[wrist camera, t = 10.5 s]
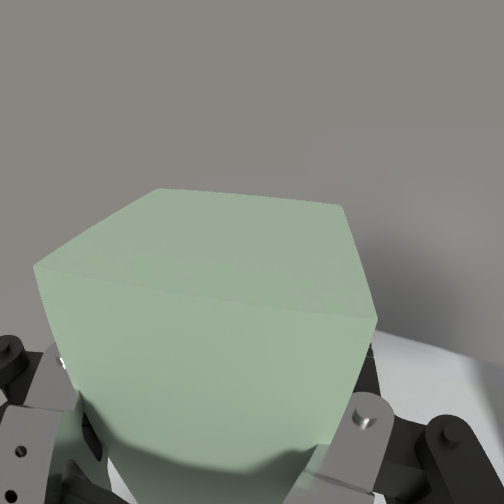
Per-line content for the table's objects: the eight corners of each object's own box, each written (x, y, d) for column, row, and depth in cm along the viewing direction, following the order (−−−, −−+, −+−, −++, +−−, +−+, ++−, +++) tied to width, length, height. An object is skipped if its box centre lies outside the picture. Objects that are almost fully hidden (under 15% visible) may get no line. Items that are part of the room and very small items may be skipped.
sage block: (292, 435, 12) (340, 205, 8) (279, 538, 8) (378, 319, 4) (180, 416, 13) (157, 188, 9) (142, 508, 8) (33, 266, 4)
